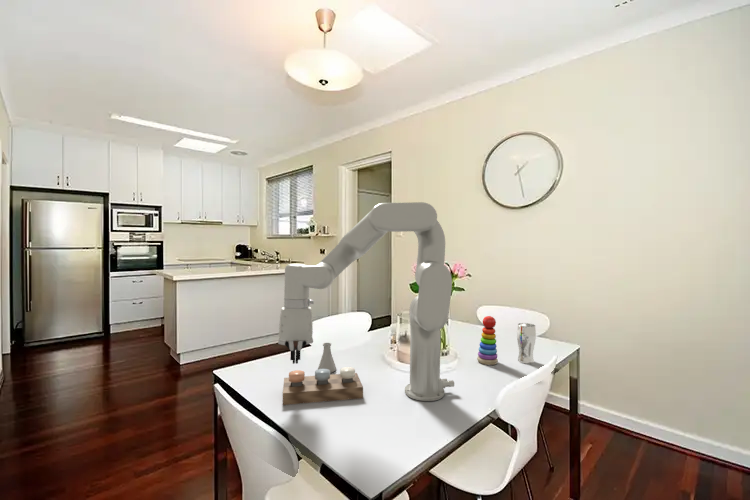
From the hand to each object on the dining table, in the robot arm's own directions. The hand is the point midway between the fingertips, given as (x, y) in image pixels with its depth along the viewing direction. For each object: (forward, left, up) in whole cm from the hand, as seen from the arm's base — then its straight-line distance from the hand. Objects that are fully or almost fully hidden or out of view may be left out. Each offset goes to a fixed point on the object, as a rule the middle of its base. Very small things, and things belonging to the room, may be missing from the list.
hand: (295, 362), depth 112 cm
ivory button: (-16, 0, -9) cm, 19 cm away
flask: (-11, -20, -11) cm, 25 cm away
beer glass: (-91, -15, -11) cm, 93 cm away
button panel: (-8, 0, -11) cm, 13 cm away
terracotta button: (0, 0, -9) cm, 9 cm away
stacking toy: (-75, -17, -11) cm, 78 cm away
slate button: (-8, 0, -9) cm, 12 cm away
